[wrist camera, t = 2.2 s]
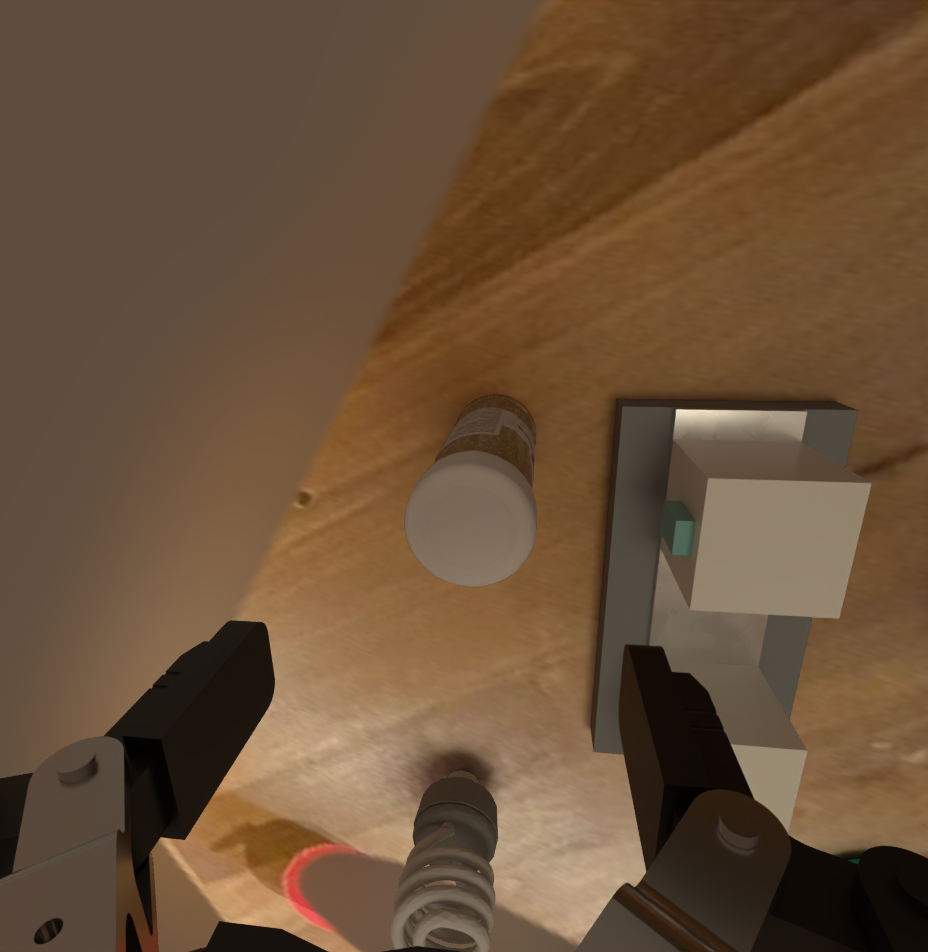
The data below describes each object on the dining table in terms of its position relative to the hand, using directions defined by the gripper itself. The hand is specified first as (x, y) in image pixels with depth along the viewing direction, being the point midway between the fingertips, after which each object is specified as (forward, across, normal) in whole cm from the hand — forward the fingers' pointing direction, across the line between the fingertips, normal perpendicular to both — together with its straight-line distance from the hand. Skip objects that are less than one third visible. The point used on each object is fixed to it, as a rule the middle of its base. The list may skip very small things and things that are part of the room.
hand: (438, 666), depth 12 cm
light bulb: (+20, +2, +25) cm, 32 cm away
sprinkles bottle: (+20, 0, 0) cm, 20 cm away
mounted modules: (+18, -11, +9) cm, 23 cm away
